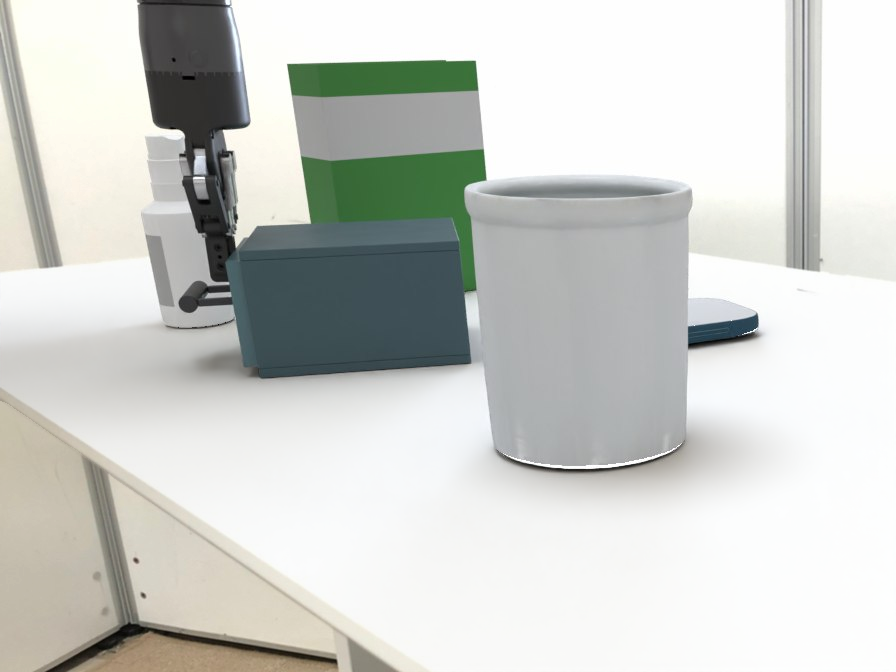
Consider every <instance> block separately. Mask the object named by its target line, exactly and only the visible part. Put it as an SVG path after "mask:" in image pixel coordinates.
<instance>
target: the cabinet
mask: <svg viewBox="0 0 896 672" xmlns="http://www.w3.org/2000/svg"><path fill="white" fill-rule="evenodd" d="M248 237H249V238H248V239H247V240H246V242H245V243H244V244H243V246H242V247H241V248H240V250H239V251H238V253H239V259H240V265H241V271H242V276H243V282H244V288H245V294H246V299H247V305H248V311H249V317H250V322H251V328H252V334H253V340H254V346H255V351H256V357H257V363H258V366H257V368H258V373H259V378H260V379H267V378H279V377H280V378H281V377H294V376H295V377H296V376H309V375H311V376H312V375H323V374H336V373H338V374H339V373H348V372H349V373H351V372H353V373H354V372H365V371H379V370H393V369H394V370H395V369H408V368H409V369H410V368H421V367H422V368H423V367H436V366H437V367H438V366H449V365H463V364H471V363H472V356H471V355H472V354H471V344H470V336H469V325H468V315H467V314H468V313H467V305H466V297H465V291H464V285H463V275H462V265H461V255H460V245H459V239H458V236H457V233H456V229H455V226H454V223H453V220H452V218H451V217H450V218H427V219H404V220H382V221H359V222H336V223H313V224H311V223H291V224H270V225H269V224H268V225H267V224H266V225H256V227H255V228H254V229H253V231H252V232H251V233H250V235H249V236H248Z"/></svg>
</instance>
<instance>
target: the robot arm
mask: <svg viewBox="0 0 896 672" xmlns="http://www.w3.org/2000/svg"><path fill="white" fill-rule="evenodd" d="M136 3H138V4H137V19H138V21H137V22H138V38H139V46H140V52H141V58H142V63H143V72H144V77H145V83H146V88H147V94H148V95H147V96H148V102H149V108H150V113H151V119H152V123H153V125H154V126H155V127H157V128H159V129H163V130H169V131H170V130H171V131H174V130H175V131H180V132H182V134H183V135H184V141H185V151H184V153H179V162H180V168H181V173H182V175H183V180H182V185H183V187H184V189H185V192H186V196H187V199H188V202H189V205H190V209H191V212H192V215H193V219H194V222H195V228H196V229H197V232H198V234H201V235H202V238H205V244H206V251H207V257H208V264H209V270H210V277H211V279H212V280H213V281H214V282H229V280H228V274H227V269H226V263H225V262H226V261H227V259H228V258H229V257H230V255H231V254H232V253H233V252H234V250H235V249H236V248H237V246H236V237H235V235H236V233H237V230H238V226H237V224H238V220H239V214H238V212H237V211H238V208H237V207H238V206H237V205H238V204H239V198H238V197H239V196H238V189H237V183H236V182H237V181H236V172H237V168H238V166H237V158H236V157H237V156H236V152H235V150H228V149H227V141H226V137H225V134H224V133H225V132H224V131H231V130H242V129H245V128H248V127H249V126H250V125H251V113H250V105H249V98H248V90H247V89H248V88H247V83H246V75H245V66H244V60H243V59H244V58H243V52H242V46H241V39H240V34H239V33H240V32H239V30H238V26H237V23H236V18H235V14H234V9H233V7H232V6H233V1H232V0H136Z"/></svg>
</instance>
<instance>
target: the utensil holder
mask: <svg viewBox="0 0 896 672" xmlns="http://www.w3.org/2000/svg"><path fill="white" fill-rule="evenodd" d="M464 198H465V206H466V209H467V211H468V213H469V215H470V216H471V225H472V238H473V251H474V264H475V276H476V288H477V289H476V297H477V299H476V300H477V307H478V308H477V309H478V318H479V319H478V320H479V330H480V331H479V333H480V338H481V339H480V341H481V353H482V362H483V372H484V381H485V390H486V396H487V407H488V413H489V424H490V431H491V438H492V443H493V446H494V448H495V447H496V448H495V450H496V449H497V450H499V451H500V452H502V453H504V454H506V455H508V456H511V457H514V458H517V459H521V460H526V461H530V462H534V463H541V464H550V465H562V466H586V465H608V464H616V463H625V462H629V461H634V460H639V459H644V458H647V457H652V456H655V455H658V454H661V453H665V452H667V451H670V450H672V449H673V448H676V447H677V446H678V445H680V444H681V443H682V442H683V441H684V439H685V440H686V436H687V410H688V409H687V407H688V372H689V371H688V370H689V344H688V299H689V260H690V259H689V256H690V255H689V254H690V253H689V249H690V248H689V247H690V245H689V244H690V240H689V238H690V237H689V236H690V235H689V234H690V232H689V231H690V230H689V229H690V228H689V215H690V212H691V210H692V208H693V202H694V201H693V188H692V187H691V185H689V184H687V183H685V182H682V181H679V180H673V179H665V178H658V177H651V176H641V175H628V174H627V175H626V174H625V175H624V174H557V175H556V174H547V175H530V176H515V177H505V178H497V179H496V178H495V179H487V181H481V182H477V183H473V184H469V185H468V186H466V187H465V190H464ZM684 442H685V441H684ZM684 442H683V443H684ZM497 450H496V451H497ZM500 452H499V453H500Z"/></svg>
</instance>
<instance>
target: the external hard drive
mask: <svg viewBox="0 0 896 672" xmlns="http://www.w3.org/2000/svg"><path fill="white" fill-rule="evenodd" d="M731 320H732V321H731ZM759 322H760V321H759V314H758V312H757V311H756V310H754V309H751V308H750V307H749V308H748V307H746V306H743V305H740V304H738V303H734V302H732V301H729V300H725V299H721V298H716V297H715V298H714V297H692V298H688V345H689V344H694V343H703V342H709V341H716V340H723V339H731V338H736V337H735V336H738V335H742V334H744V333H747V332H750V331H753V330H754V329H756V328H757V327H758V328H759V324H760V323H759ZM694 325H695V326H694ZM730 337H731V338H730ZM738 337H739V336H738Z"/></svg>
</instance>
